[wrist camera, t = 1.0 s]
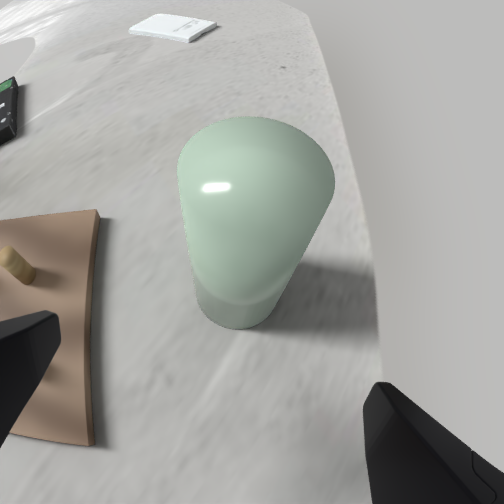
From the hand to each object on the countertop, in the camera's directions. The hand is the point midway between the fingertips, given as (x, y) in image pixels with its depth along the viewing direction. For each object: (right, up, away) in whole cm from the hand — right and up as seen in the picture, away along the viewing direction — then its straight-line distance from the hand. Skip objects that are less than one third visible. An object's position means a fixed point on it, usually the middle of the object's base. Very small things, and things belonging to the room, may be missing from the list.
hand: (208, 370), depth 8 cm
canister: (0, 0, +15) cm, 16 cm away
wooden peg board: (-20, -3, +12) cm, 23 cm away
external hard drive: (-12, +40, +35) cm, 54 cm away
